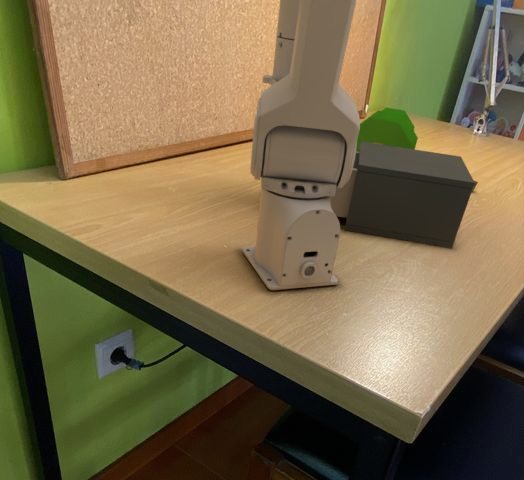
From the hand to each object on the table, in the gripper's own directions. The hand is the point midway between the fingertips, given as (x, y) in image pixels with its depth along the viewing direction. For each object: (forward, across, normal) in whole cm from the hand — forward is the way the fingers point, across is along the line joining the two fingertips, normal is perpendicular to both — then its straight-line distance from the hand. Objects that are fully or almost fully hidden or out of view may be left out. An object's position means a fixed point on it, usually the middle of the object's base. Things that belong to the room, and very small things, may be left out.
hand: (285, 155), depth 69 cm
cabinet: (+7, 0, +17) cm, 18 cm away
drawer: (+6, 0, +6) cm, 8 cm away
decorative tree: (+7, -22, +15) cm, 27 cm away
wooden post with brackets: (+7, -18, +28) cm, 34 cm away
